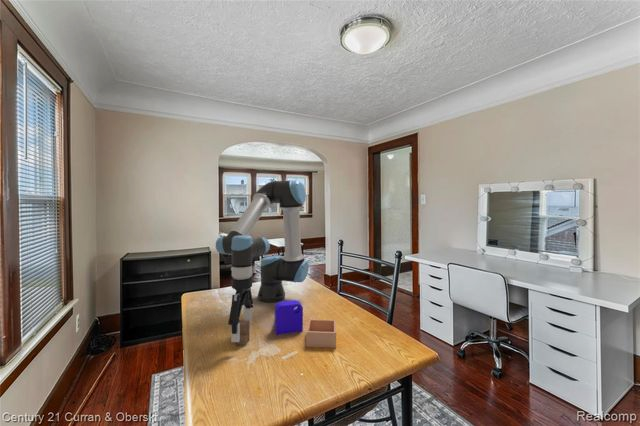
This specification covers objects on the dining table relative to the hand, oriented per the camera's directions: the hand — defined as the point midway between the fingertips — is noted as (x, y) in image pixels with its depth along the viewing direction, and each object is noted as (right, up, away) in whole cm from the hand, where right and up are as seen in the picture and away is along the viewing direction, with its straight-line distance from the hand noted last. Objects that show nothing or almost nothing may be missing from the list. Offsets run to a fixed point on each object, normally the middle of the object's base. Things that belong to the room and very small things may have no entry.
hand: (241, 332), depth 102 cm
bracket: (+15, -4, +17) cm, 22 cm away
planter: (+30, -4, +3) cm, 31 cm away
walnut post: (0, -4, +1) cm, 4 cm away
